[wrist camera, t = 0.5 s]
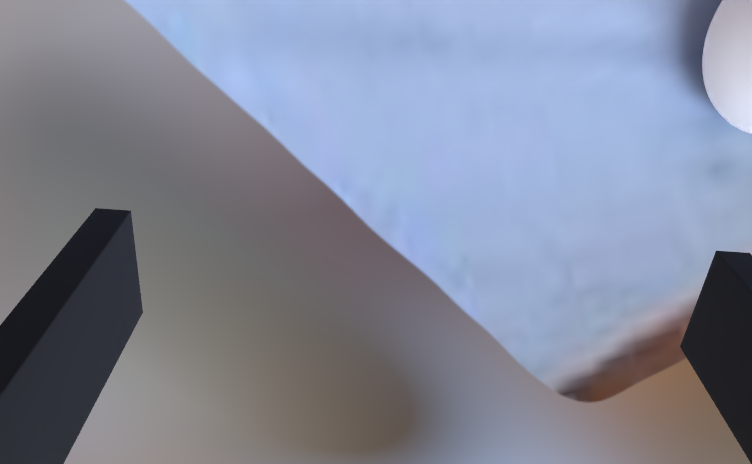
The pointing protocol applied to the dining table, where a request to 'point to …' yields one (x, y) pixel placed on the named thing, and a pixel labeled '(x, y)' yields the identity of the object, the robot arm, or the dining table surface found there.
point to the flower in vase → (730, 62)
